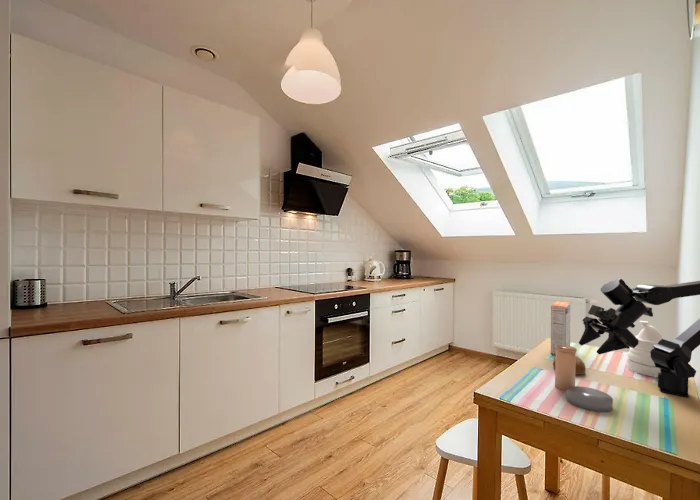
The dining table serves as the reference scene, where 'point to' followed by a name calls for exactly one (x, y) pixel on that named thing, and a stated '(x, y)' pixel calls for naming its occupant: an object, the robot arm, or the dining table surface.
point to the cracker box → (560, 324)
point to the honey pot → (644, 351)
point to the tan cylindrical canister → (565, 366)
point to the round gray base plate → (589, 399)
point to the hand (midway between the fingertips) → (588, 348)
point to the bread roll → (577, 366)
